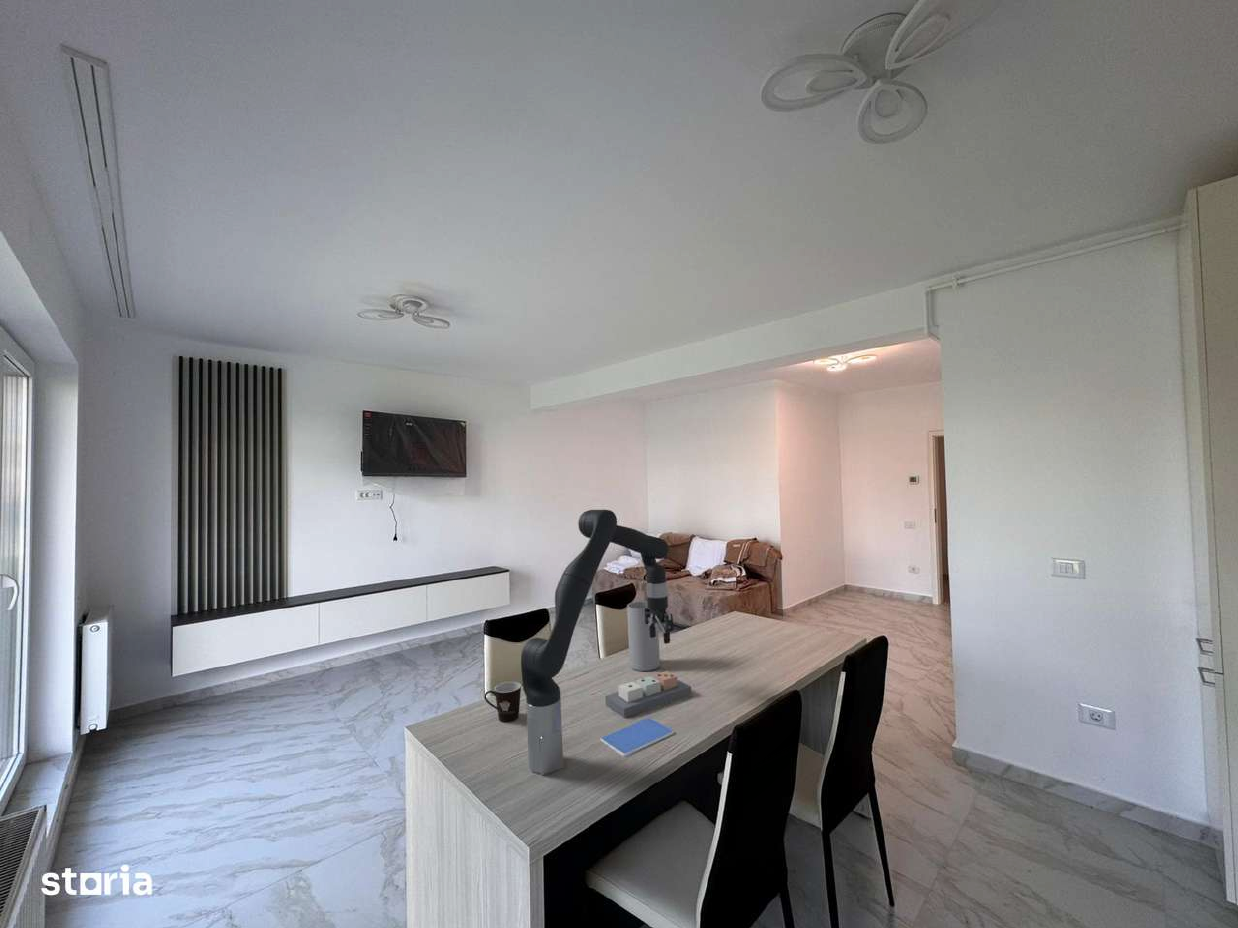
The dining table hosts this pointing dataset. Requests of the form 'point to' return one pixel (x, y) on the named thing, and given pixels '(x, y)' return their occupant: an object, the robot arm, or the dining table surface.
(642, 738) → the blue flat rectangular panel
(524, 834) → the dining table surface
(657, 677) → the key three pips
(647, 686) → the key two pips
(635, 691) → the key one pip
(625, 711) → the keypad board
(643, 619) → the cylinder vase
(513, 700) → the coffee mug
